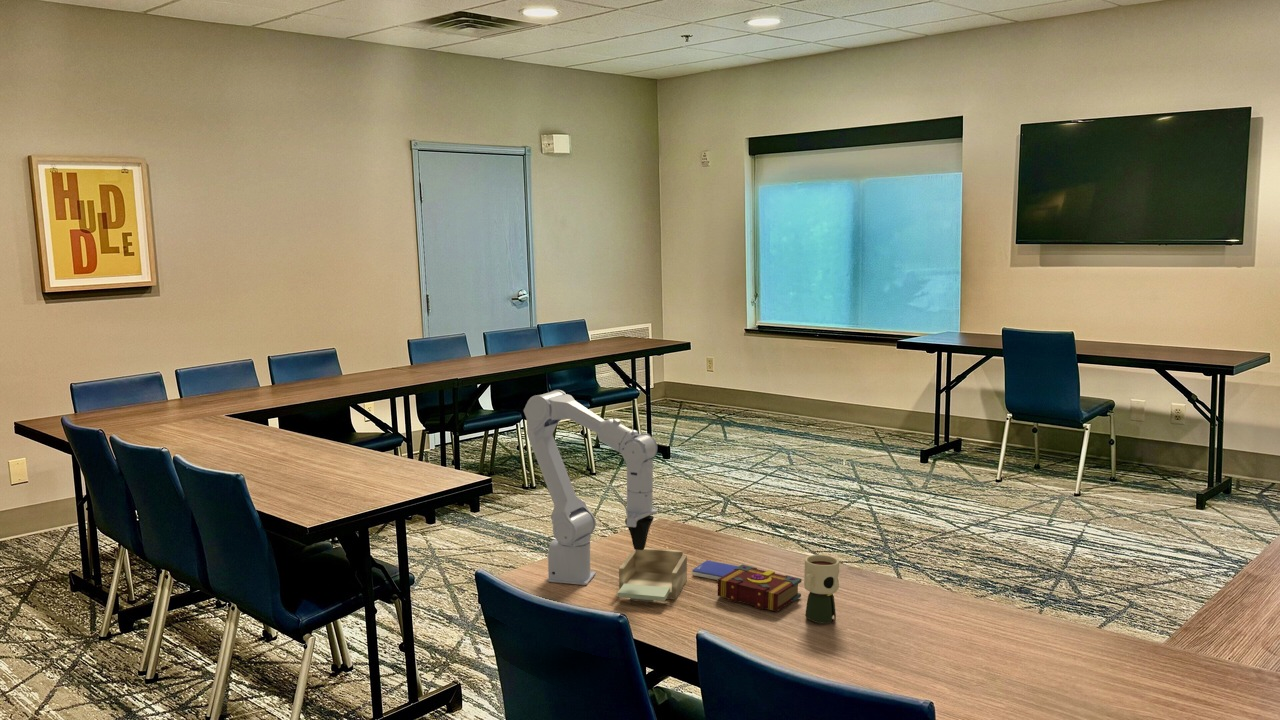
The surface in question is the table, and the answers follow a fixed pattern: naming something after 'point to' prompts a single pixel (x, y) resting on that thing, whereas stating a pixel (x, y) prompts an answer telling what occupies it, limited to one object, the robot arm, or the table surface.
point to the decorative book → (759, 588)
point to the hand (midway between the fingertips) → (639, 548)
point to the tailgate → (643, 592)
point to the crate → (655, 569)
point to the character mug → (821, 587)
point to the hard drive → (713, 570)
